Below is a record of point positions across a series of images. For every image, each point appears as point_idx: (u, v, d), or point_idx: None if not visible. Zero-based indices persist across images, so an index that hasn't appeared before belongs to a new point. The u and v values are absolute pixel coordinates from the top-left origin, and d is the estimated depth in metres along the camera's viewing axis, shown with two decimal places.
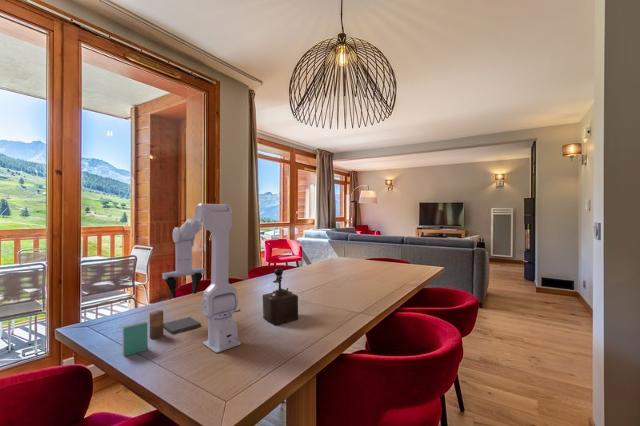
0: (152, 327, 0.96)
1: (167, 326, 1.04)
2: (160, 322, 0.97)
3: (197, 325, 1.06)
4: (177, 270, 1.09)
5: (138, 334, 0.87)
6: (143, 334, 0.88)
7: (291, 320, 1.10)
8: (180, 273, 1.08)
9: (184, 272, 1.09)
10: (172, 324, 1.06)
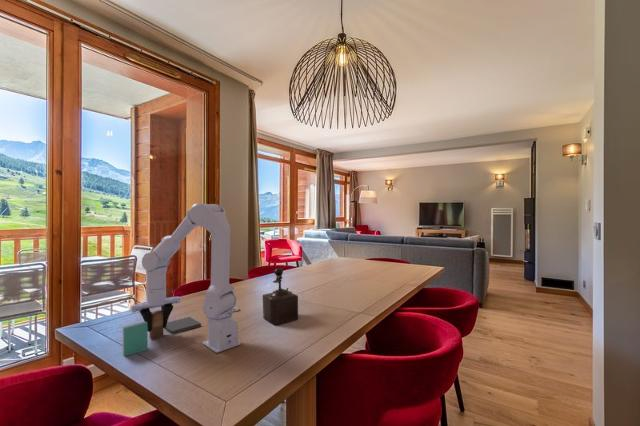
0: (151, 327, 0.96)
1: (167, 326, 1.04)
2: (160, 322, 0.97)
3: (197, 325, 1.06)
4: (147, 301, 0.96)
5: (138, 334, 0.87)
6: (143, 334, 0.88)
7: (291, 320, 1.10)
8: (151, 305, 0.95)
9: (156, 304, 0.96)
10: (172, 324, 1.06)
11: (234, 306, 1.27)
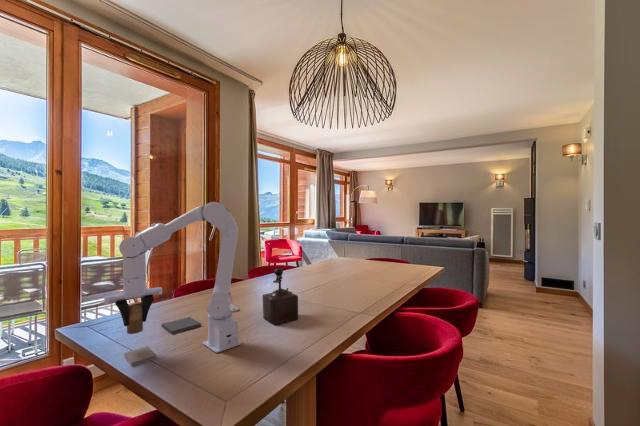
0: (129, 321, 0.85)
1: (167, 326, 1.04)
2: (138, 315, 0.86)
3: (197, 325, 1.06)
4: (124, 292, 0.85)
5: None
6: None
7: (291, 320, 1.10)
8: (128, 296, 0.84)
9: (133, 294, 0.85)
10: (172, 324, 1.06)
11: (234, 306, 1.27)
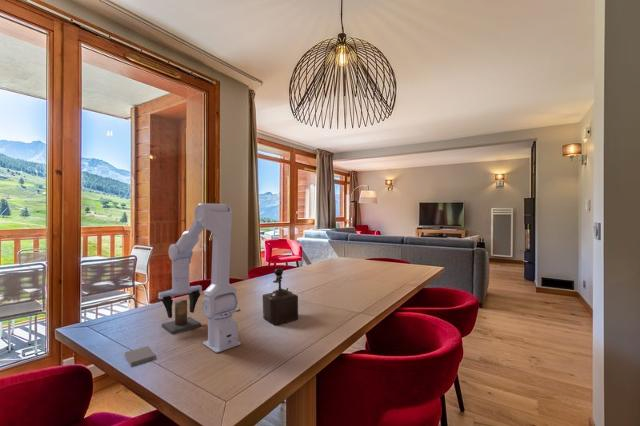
0: (177, 315, 1.05)
1: (167, 326, 1.04)
2: (184, 310, 1.06)
3: (197, 325, 1.06)
4: (173, 289, 1.04)
5: None
6: None
7: (291, 320, 1.10)
8: (177, 292, 1.04)
9: (181, 291, 1.04)
10: (172, 324, 1.06)
11: None
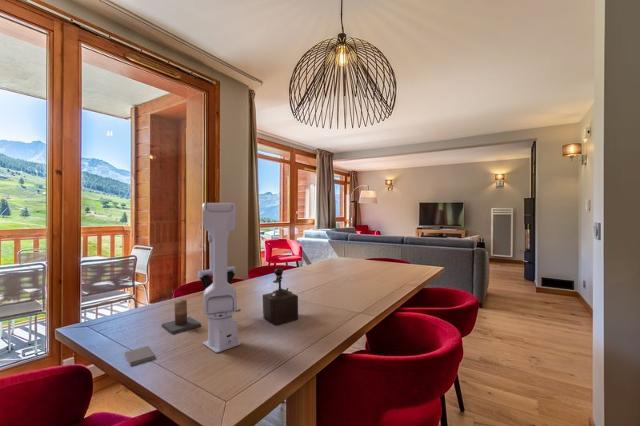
0: (177, 315, 1.05)
1: (167, 326, 1.04)
2: (184, 310, 1.06)
3: (197, 325, 1.06)
4: (211, 268, 1.12)
5: None
6: None
7: (291, 320, 1.10)
8: None
9: None
10: (172, 324, 1.06)
11: None
